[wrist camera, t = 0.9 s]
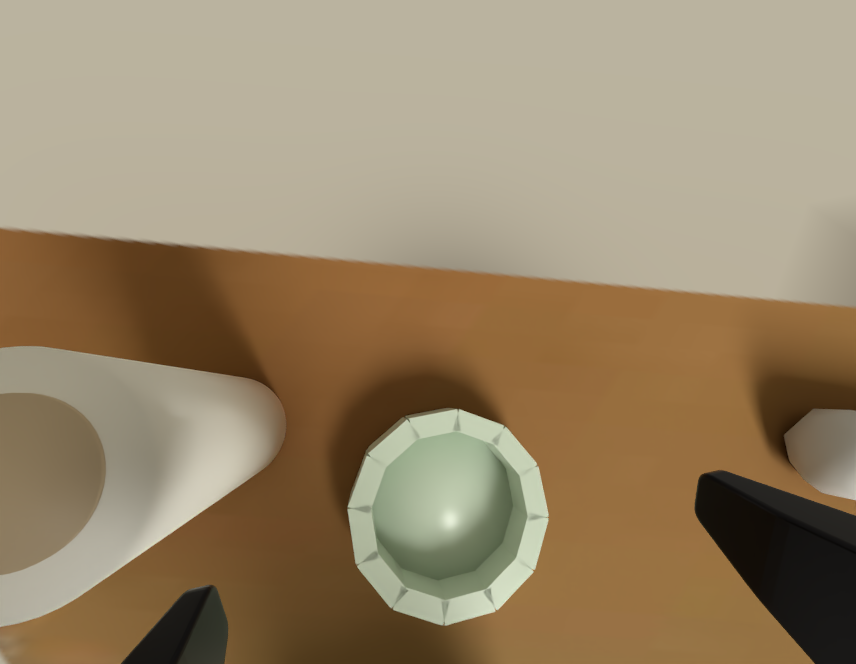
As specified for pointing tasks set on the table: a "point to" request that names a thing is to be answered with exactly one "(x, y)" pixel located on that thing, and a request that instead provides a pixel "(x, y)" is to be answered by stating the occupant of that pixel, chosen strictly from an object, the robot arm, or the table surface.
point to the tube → (825, 450)
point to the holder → (447, 515)
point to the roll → (112, 463)
